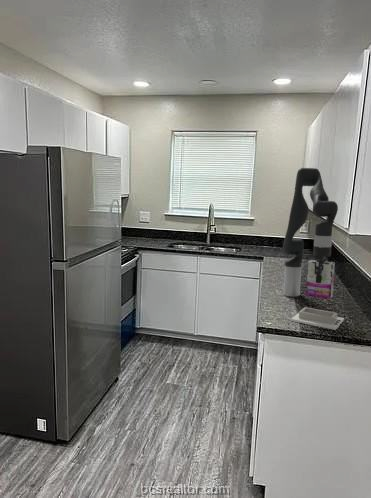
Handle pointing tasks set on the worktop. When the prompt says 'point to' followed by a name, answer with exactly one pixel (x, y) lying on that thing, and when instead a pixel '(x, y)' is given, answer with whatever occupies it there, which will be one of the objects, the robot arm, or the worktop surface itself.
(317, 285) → the candy bar box
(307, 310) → the socket board
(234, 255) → the worktop surface
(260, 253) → the worktop surface
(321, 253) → the robot arm
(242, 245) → the worktop surface
